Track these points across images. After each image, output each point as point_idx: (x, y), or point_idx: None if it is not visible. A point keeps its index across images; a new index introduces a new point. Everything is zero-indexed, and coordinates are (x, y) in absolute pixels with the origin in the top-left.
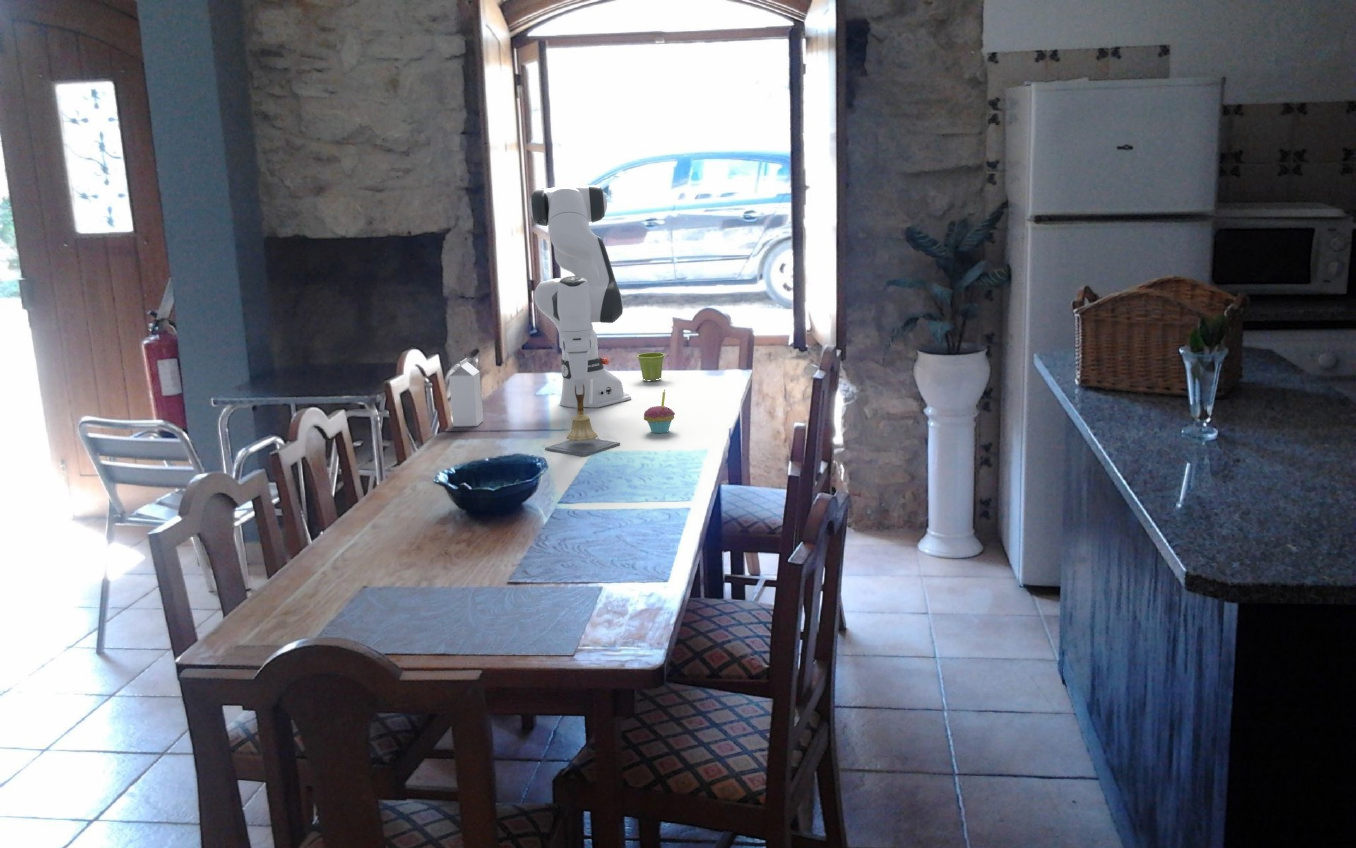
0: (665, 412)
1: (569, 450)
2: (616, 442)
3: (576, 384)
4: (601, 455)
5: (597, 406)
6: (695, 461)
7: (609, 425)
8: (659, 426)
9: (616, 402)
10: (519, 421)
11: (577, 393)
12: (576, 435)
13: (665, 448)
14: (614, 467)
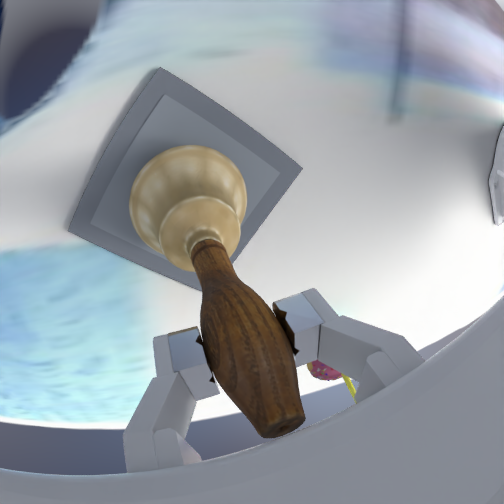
0: (321, 378)
1: (110, 168)
2: None
3: (137, 417)
4: (91, 271)
5: (490, 181)
6: (97, 416)
7: (401, 218)
8: None
9: (493, 207)
10: (458, 30)
11: (155, 345)
12: (141, 201)
13: None
14: (8, 321)
